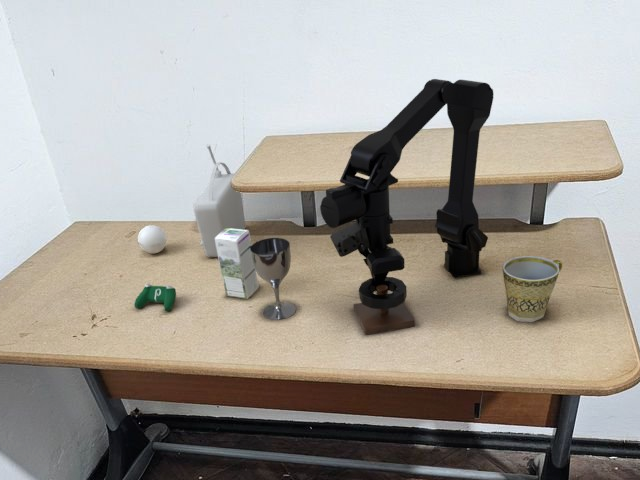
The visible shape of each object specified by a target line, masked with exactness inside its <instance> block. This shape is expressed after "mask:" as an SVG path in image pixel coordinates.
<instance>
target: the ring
mask: <svg viewBox="0 0 640 480" xmlns="http://www.w3.org/2000/svg"><path fill="white" fill-rule="evenodd" d="M383 285H386V286H387V287H388V292H389V291H390V292H391V293H388V294H385V295H377V293H375V292H377V287H376V284H375V281H374V278H372V277H370V278H368V279H366V280H365V281H363V282H361V284H360V285H359V287H358V299H359V300H360V303H362V304H363V305H365V306H367V307H369V308H373V309H389V308H394V307H397V306H399V305H400V304H402V303H403V302H404V303H405V301H406V298H407V297H408V295H407V294H408V293H407V287H408V286H407V285H406V284H405V282H404V281H403V279H399V278H397V277H394V276H387V277H386V279H385V281H384V283H383Z"/></svg>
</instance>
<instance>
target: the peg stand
mask: <svg viewBox="0 0 640 480" xmlns="http://www.w3.org/2000/svg"><path fill="white" fill-rule="evenodd" d="M376 294H377V295H385V294H389V291H388V287H387V286H386V285H379V286H377V291H376ZM352 305H353V312H354V314H355V316H356V319H357V321H358V323H359V324H360V327H361V329H362V330H363V334H364V335H365V336H367V335H373V334H379V333H384V332H385V333H386V332H390V331H396V330H400V329H401V330H402V329H408V328H412V327H415V326H416V319H415V318H414V316H413V314H412V313H411V311H410V309H409V308H408V306H407V304H406V303H405V301H404V302H403V303H402V304H400V305H399V306H397V307H394V308H389V309H373V308H369V307H367V306H365V305H363V304H362V302H358V303H353V304H352Z"/></svg>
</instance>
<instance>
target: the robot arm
mask: <svg viewBox="0 0 640 480" xmlns="http://www.w3.org/2000/svg"><path fill="white" fill-rule="evenodd" d="M493 102H494V89H493V88H492V87H491V85H490V84H489V83H487V82H483V81H476V80H475V81H474V80H469V79H468V80H467V79H457V80H456V81H454V82H452V81H451V80H446V79H439V78H431V79H429V80H428V81H427V82H425V84H424V86H423V88H422V89H421V91H419V93H418V94H417V95H416V96H414V98H412V100H410V101H409V103H407V105H405V107H403V109H402V110H400V112H399V113H398V114H397V115H396V116H394V118H393V119H392V120H391V121H390V122H389V123H388V124H387V125H385V126H384V127H383V128H382V129H379V130H377V131H376V132H375V131H374V132H373V133H369V134H368V135H367V136H365V137H363V139H361V140H360V141H358V142H356V143H355V145H354V146H352V149H351V151H350V157H349V159H348V161H347V163H346V166H345V168H344V170H343V172H342V174H341V177H340V179H339V182H340V184H342V185H339V186H337V187H331V188H327V189H326V190H325V196H324V197H323V198H322V199H321V202H320V203H321V204H320V205H319V209H320V214H321V217H322V219H323V222H324V224H326V226H328V227H329V228H330V229H335V228H338V227H341V226H344V225H346V224H348V223H351V222H353V221H355V222H353V223H351V224H348V225H346V226H344V227H342V228H340V229H338V230H337V231H335V232H332V233H331V235H330V236H329V238H330V239H331V242H332V244H333V246H334V248H335V251H336V252H337V254H338V256H339V257H341V258H343V257H346V256H348V255H350V254H352V253H354V252H355V251H358V253H359V254H360V255H362V256H363V257H364V258H363V259H362V260H363V261H364V264H365V265H366V266H367V267H368V269H369V272H370V276H371V278H374V281H375V284H376V287H377V286H379V285H383V283H384V281H385V279H386V277H388V274H389V273H390V272H391V273H392V272H397V271H403V270H404V269H405V268H406V267H405V258H404V256H403V255H402V253H401V252H400V251H399V250H398V249H397V248H395V247H392V246H389V245H393V244H394V238H393V237H392V235H391V224H394V221H393V219H394V218H393V216H392V215H391V213H390V212H391V211H390V186H392V185H395V184H397V183H398V182H399V179H398V178H397V177H395V175H394V176H393V174H392V172H393V170H394V169H395V167H396V166H397V165H398V164H399V162H400V160H401V157H402V153H403V150H404V148H405V147H406V146H407V144H409V143H410V142H411V140H412V139H414V137H415V136H416V135H417V134H419V133H420V131H421V130H422V129H423V128H424V127H425V126H426V125H427V124H428V123H429V122H430V121H431V120H432V119H433V118H434V117H436V115H437V114H438V113H439V112H440V111H441V110H442V109H443V108H444V107H445V106H446V111H447V117H448V119H449V121H450V125H451V126H452V129H453V136H452V148H451V159H450V169H449V171H450V172H449V182H448V183H449V185H448V196H447V201H446V202H445V204H444V205H443V207H442V208H438V209H436V210H437V211H436V221H435V224H434V228H436V233H437V235H438V236H439V237H440V239H441V243H444V244H446V246H447V247H446V250H445V251H444V263H443V267H444V268H445V270H446V271H447V272H448V274H450V276H451V277H452V278H454V279H456V278H461V277H462V278H463V277H468V276H469V277H470V276H474V275H480V274H482V272H483V271H482V269H481V268H480V252H481V251H482V250H483V248H486V246H487V244H488V239H489V236H487V235H486V233H484V231H482V230H481V229H480V228H479V227H480V226H479V223H480V221H479V214H478V211H477V209H476V206H475V204H474V201H473V200H474V191H475V181H476V171H477V160H478V154H479V153H478V151H479V144H480V143H479V141H480V132H481V129H482V128H483V126H484V125H485V123H487V120H488V119H489V118H490V116H491V111H492V107H493ZM357 174H359V175H363V176H366V177H369V178H365V177H361V176H358V175H357Z"/></svg>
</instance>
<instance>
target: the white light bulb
mask: <svg viewBox="0 0 640 480" xmlns="http://www.w3.org/2000/svg"><path fill="white" fill-rule="evenodd" d="M166 235H167V234H166V232H165V231H164V230H163V228H161V227H160V226H158V225H155V224H154V225H153V224H148V225H146V226H144V227H143V228H142V229H140V231H139V233H138V236H137V244H138V245H139V247H140V249H142V250H143V251H144V252H145V253H148V254H158V253H160V252H162V251H163V250H164V249H165V247H166V245H167V240H168V239H167V236H166ZM133 241H135V239H132V240H131V242H133ZM128 242H129V243H130V240H127V243H128Z"/></svg>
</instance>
